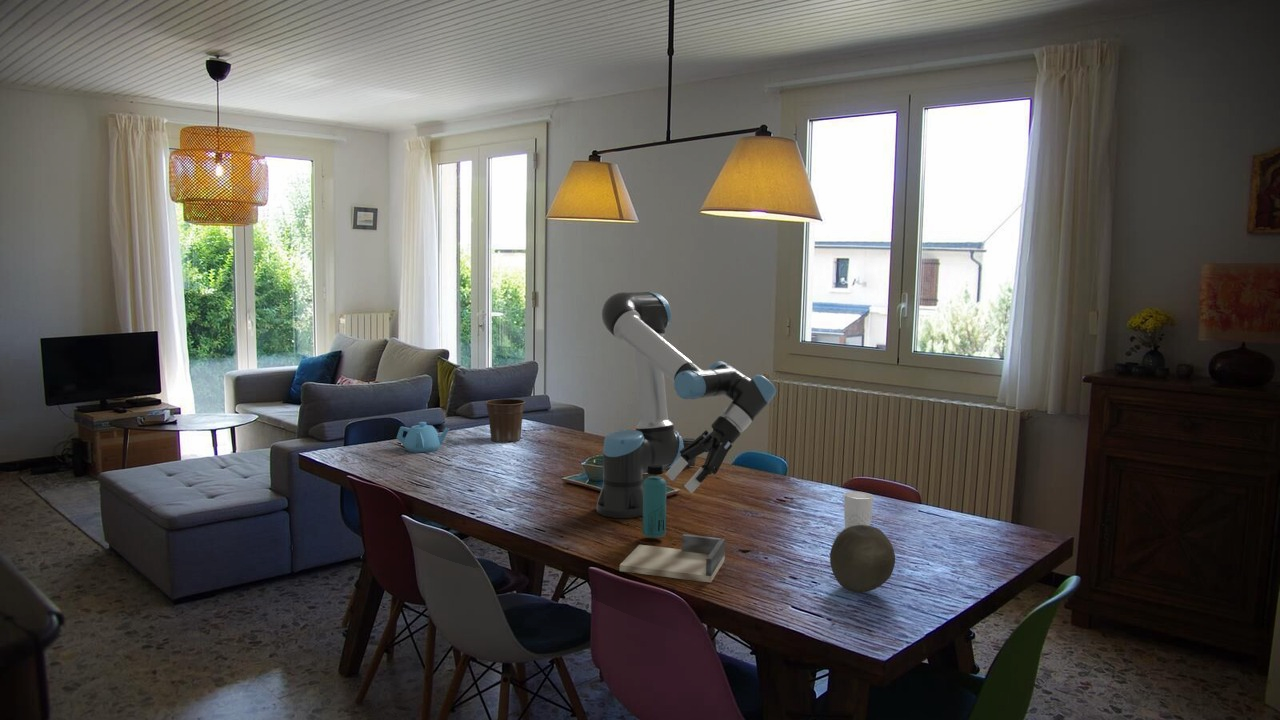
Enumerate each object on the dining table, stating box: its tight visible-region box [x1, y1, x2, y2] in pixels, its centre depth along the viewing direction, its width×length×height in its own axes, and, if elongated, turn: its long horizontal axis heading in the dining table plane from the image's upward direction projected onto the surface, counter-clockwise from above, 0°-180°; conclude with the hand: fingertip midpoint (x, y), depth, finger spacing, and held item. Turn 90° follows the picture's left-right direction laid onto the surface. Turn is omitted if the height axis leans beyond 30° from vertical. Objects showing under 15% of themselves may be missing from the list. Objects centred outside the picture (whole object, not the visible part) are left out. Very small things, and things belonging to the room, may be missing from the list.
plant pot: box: [485, 398, 526, 443], centre depth 352 cm, size 16×16×16 cm
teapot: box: [396, 421, 450, 453], centre depth 330 cm, size 15×15×11 cm
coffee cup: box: [682, 437, 697, 467], centre depth 311 cm, size 8×8×10 cm
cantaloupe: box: [829, 525, 896, 594], centre depth 190 cm, size 14×14×15 cm
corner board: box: [619, 533, 726, 584], centre depth 205 cm, size 22×16×6 cm
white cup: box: [843, 491, 874, 530], centre depth 237 cm, size 8×8×10 cm
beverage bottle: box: [641, 464, 668, 538], centre depth 224 cm, size 6×7×20 cm
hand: (677, 483), depth 224 cm, fingers open, 13 cm apart
